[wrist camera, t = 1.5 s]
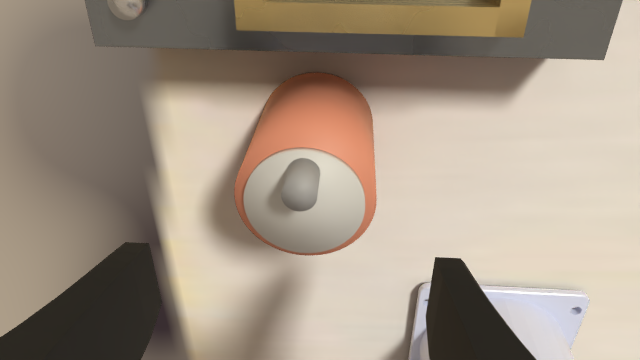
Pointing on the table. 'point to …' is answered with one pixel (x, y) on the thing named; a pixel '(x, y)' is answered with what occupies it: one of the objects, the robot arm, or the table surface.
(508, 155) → the table surface
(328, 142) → the spout can
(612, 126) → the table surface
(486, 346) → the robot arm
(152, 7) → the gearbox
